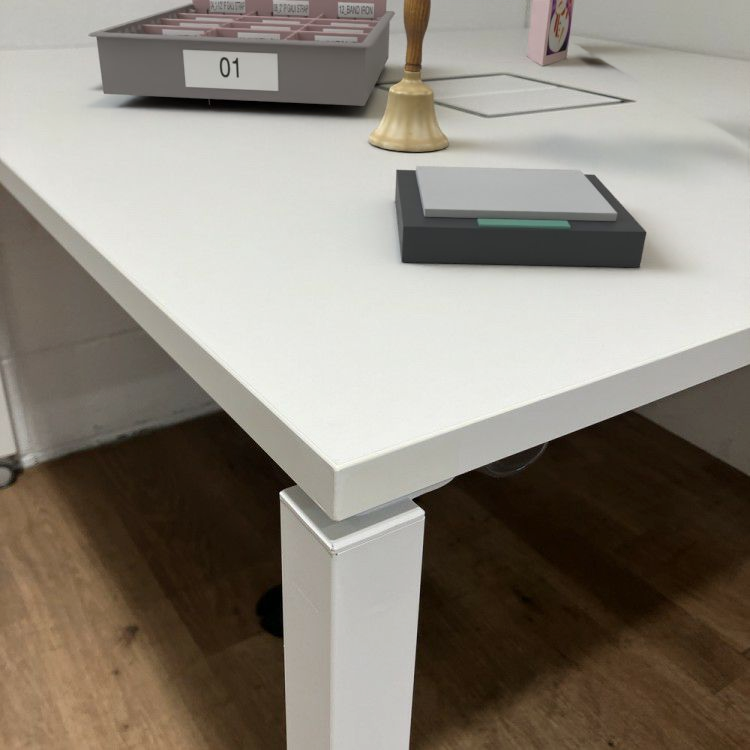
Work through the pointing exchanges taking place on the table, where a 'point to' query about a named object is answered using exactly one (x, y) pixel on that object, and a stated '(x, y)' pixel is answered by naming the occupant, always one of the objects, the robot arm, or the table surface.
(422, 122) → the hand bell
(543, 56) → the pink cardboard box
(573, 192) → the scale
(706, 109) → the table surface
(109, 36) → the organizer tray
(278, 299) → the table surface
